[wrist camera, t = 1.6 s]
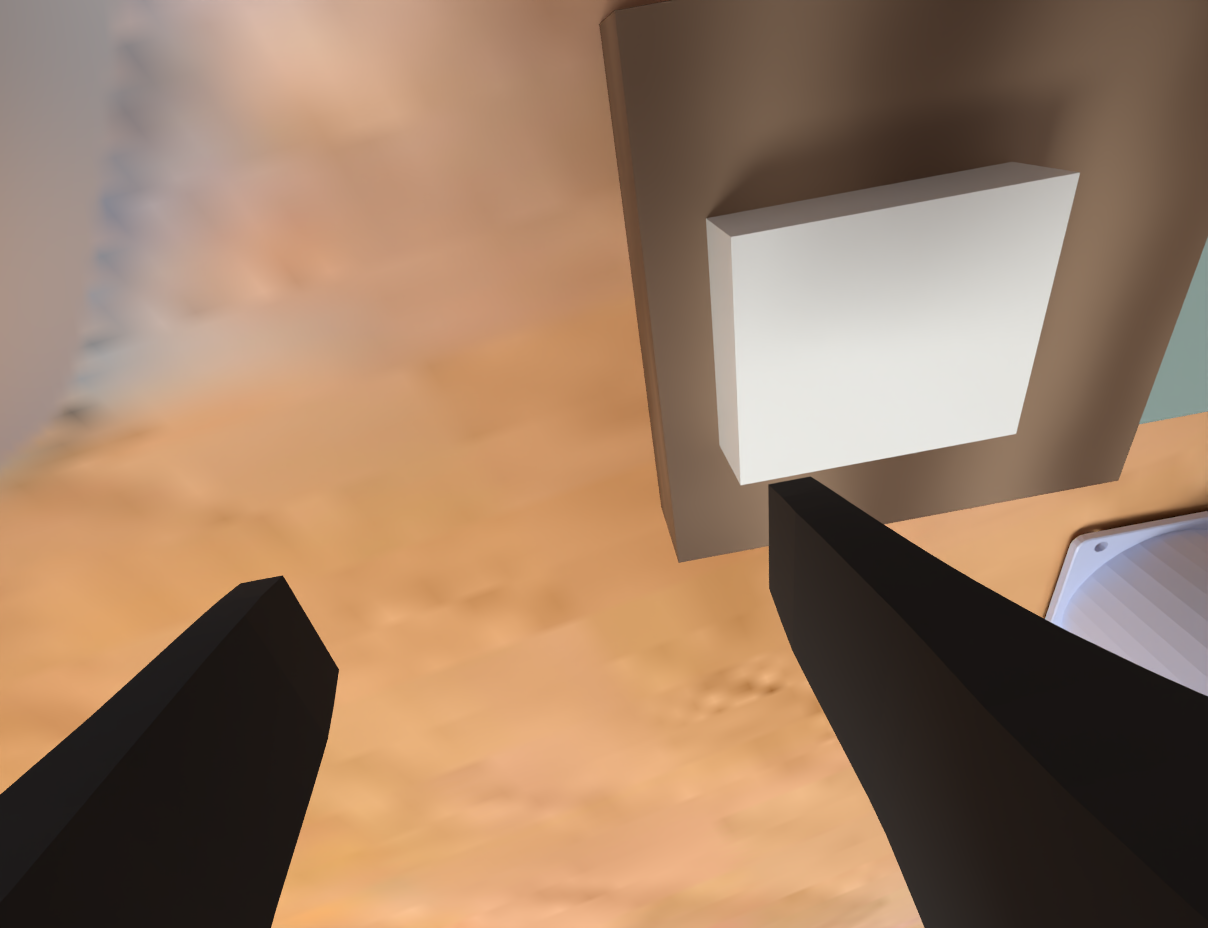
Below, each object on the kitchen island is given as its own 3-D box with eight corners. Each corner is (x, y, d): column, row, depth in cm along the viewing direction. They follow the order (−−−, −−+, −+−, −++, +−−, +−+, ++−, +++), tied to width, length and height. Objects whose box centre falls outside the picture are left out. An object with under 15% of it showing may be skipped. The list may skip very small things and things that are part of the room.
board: (1193, -85, 14) (1340, -123, 12) (1049, 434, 22) (1118, 480, 19) (599, 24, 14) (614, 10, 11) (661, 506, 22) (679, 562, 19)
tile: (1012, 161, 14) (1080, 172, 12) (966, 399, 17) (1016, 433, 15) (705, 218, 14) (730, 237, 12) (719, 445, 17) (740, 485, 15)
